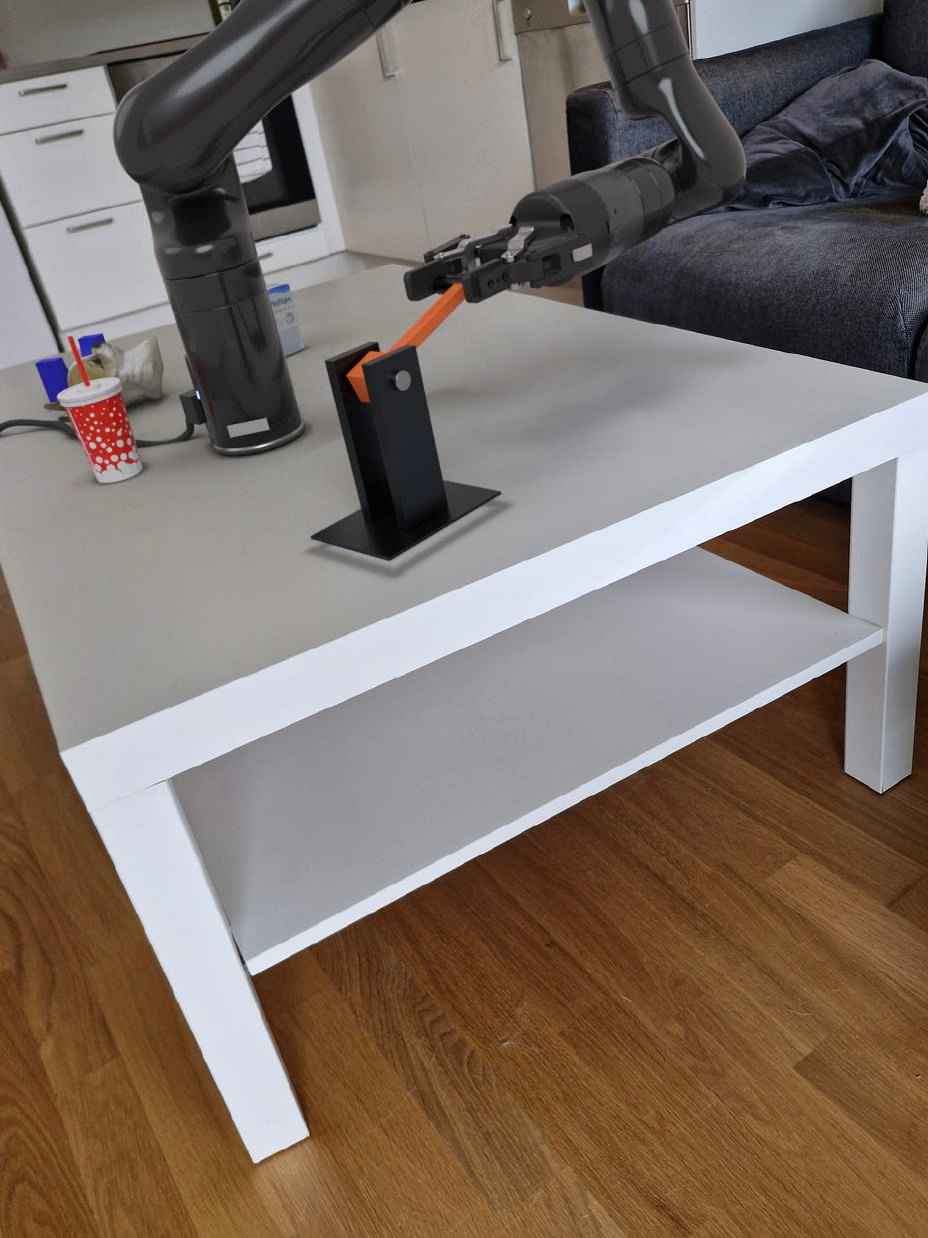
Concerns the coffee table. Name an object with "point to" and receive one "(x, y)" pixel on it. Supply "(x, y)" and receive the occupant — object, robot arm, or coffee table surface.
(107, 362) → the ceramic sculpture
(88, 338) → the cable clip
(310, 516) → the coffee table surface
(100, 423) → the beverage cup
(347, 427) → the black lever stand
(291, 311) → the medicine box
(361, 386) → the clamp lever
